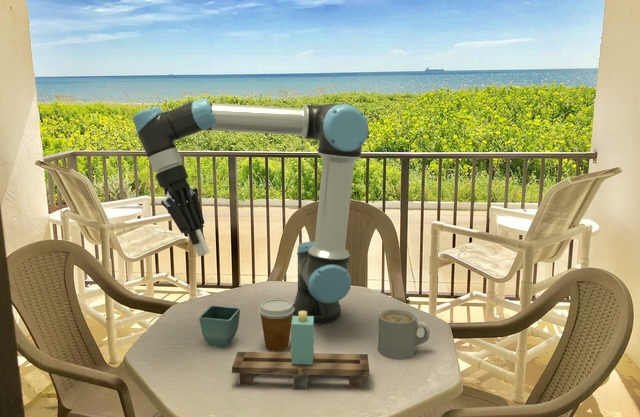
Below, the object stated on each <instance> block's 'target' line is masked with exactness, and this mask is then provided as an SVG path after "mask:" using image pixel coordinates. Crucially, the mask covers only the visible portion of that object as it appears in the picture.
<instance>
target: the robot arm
mask: <svg viewBox="0 0 640 417" xmlns="http://www.w3.org/2000/svg"><path fill="white" fill-rule="evenodd" d="M132 121H133V124H134V126H135V130H136V134H137V136H138V138H139V140H140V142H141V145H142V147H143V150H144V152H145V155H146V156H147V159H148V161H149V164H150V166H151V169H152V171H153V173H156V174H155V178H156V181H157V183H158V185H159V188H161V189H163V190H164V195H165V198H164V199H163V200H161V205H162V206H163V207H164V208H165V209H166V210H167V212H168V214H169V215H170V217H171V219H172V220H173V222H174V223H175V226H176V227H177V228H178V230H179V232H180V233H181V234H183V235H188V237H189V240H190V241H191V245H193V247H194V249H195V251H196V254H197V256H198V258H200V257H202V256H205V255H208V254H209V253H210V252H211V251H210V249H209V247H208V245H207V242H206V238H205V235H204V233H203V230H202V229H203V228H204V227H205V225H204V224H205V220H204V215H203V211H202V208H201V204H200V199H199V189H198V188H197V187H195V188H192V187H191V186H190V184H189V183H188V181H187V179H188V178H189V175H188V173H187V170H186V167H185V165H184V164H182V162H183V160H182V157H181V155H180V153H179V151H178V148H177V146H176V144H175V141H178V140H180V139H184V138H185V137H190V136H192V135H194V134H198V133H200V132H204V131H207V132H209V131H213V132H214V131H215V132H234V133H251V134H254V133H255V134H270V135H271V134H272V135H274V134H275V135H291V136H292V135H293V136H300V138H302V139H303V140H305V139H306V140H314V141H315V140H316V141H318V147H317V154H318V155H319V157H320V158H321V159H322V162H321V163H322V164H321V173H320V186H319V195H318V197H319V198H318V206H317V216H316V223H315V224H316V225H315V235H314V236H315V237H314V241H306V242H302V243H299V245H297V246H298V247H297V252H296V255H297V292H296V295H295V298H294V303H292V304H293V307H294V312H293V314H292V317H293V316H298V312H299V311H307V316H314V325H319V324H320V325H321V324H329V323H333V322H334V321H335V322H336V321H338V319H340V317H341V316H342V307H341V304H340V301H341V300H342V299H344V298H345V297H346V296H347V295H348V293H350V290H351V286H352V279H351V274H350V273H349V264H350V256H351V254H350V253H349V251H348V250H347V249H346V242H347V241H346V240H347V233H348V225H349V224H348V223H349V214H350V205H351V196H352V188H353V179H354V171H355V170H354V169H355V163H356V162H358V160H359V159H361V158H362V157H361V156H362V149H363V145H364V143H365V142H366V140H367V138H368V136H369V128H370V127H369V123H368V122H369V121H368V120H367V117H366V116H365V114H364V113H363V111H361V110H360V109H359V108H357V107H356V106H353V104H349V103H348V104H347V103H336V102H334V103H327V104H315V105H314V104H304V105H303V106H302V107H287V106H282V107H281V106H267V105H252V104H251V105H248V104H234V103H232V104H231V103H229V104H228V103H215V102H214V103H213V102H212V103H210V102H209V99H208V98H200V99H195V100H193V101H187V102H184V103H183V104H182V105H180V106H178V107H176V108H172V109H171V110H167V111H162V109H161V108H160V106H153V107H149V108H146V109H145V108H144V109H142V110H140V111H138V112H136V113H135V114H134V115H133V117H132Z"/></svg>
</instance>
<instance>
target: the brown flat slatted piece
mask: <svg viewBox="0 0 640 417" xmlns="http://www.w3.org/2000/svg"><path fill="white" fill-rule="evenodd" d="M231 373H232V374H238V377H239V378H238V379H239V381H238V382H239V386H253V382H254V380H255V375H257V374H261V375H268V374H269V375H293V390H307V388H308V381H309V375H310V376H311V375H312V376H347V377H348V378H349V380H348V382H349V383H348V384H349V385H348V386H349V388H363V377H370V364H369V354H367V353H333V352H331V353H326V352H325V353H324V352H322V353H321V352H320V353H319V352H314V356H313V365H308V364H291V352H282V351H276V352H275V351H237V352H236V355H235V357H234V361H233V364H232V366H231Z"/></svg>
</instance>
